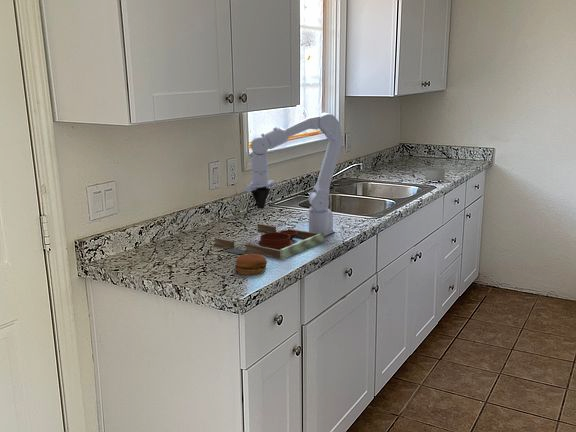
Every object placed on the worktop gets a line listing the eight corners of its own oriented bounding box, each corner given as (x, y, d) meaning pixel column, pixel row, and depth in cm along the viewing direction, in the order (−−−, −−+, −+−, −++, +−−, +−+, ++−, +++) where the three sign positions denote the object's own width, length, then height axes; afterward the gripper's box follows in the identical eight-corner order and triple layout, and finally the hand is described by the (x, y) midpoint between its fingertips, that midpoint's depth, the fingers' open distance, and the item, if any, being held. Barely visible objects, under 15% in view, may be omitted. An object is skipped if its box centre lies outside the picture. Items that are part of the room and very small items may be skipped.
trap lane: (259, 229, 218) (259, 222, 217) (323, 241, 202) (324, 232, 201) (214, 245, 198) (214, 236, 197) (282, 259, 182) (282, 250, 181)
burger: (249, 278, 165) (249, 262, 164) (228, 271, 171) (228, 256, 170) (273, 270, 172) (273, 255, 171) (253, 263, 178) (252, 249, 177)
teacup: (440, 184, 309) (441, 169, 307) (421, 182, 315) (422, 168, 313) (448, 180, 321) (449, 166, 319) (429, 179, 326) (430, 165, 324)
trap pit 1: (232, 248, 194) (232, 247, 193) (246, 251, 190) (246, 250, 190) (224, 251, 190) (224, 250, 190) (238, 254, 187) (238, 253, 187)
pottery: (252, 251, 191) (251, 238, 190) (277, 236, 209) (277, 225, 208) (283, 255, 186) (283, 242, 185) (307, 240, 204) (307, 228, 203)
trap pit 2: (282, 230, 217) (282, 229, 217) (295, 232, 213) (295, 231, 213) (276, 232, 213) (276, 231, 213) (289, 235, 210) (289, 234, 210)
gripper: (263, 167, 212) (264, 203, 215) (238, 172, 200) (239, 210, 203) (278, 169, 208) (279, 205, 211) (253, 174, 196) (254, 212, 199)
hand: (260, 208), depth 207 cm, fingers closed
